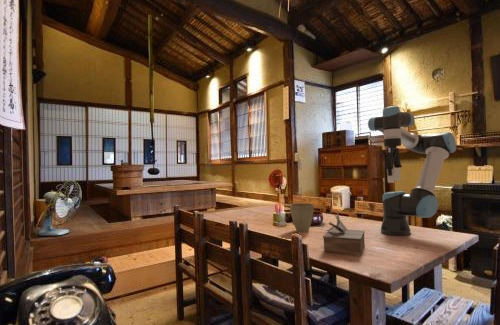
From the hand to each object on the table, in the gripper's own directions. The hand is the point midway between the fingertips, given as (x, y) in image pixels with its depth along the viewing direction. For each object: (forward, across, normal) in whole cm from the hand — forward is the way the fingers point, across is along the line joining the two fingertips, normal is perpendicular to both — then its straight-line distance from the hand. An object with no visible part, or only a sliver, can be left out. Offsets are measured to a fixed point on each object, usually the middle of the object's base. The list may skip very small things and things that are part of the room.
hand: (394, 181), depth 144 cm
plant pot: (+31, -4, -54) cm, 62 cm away
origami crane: (+23, +21, -23) cm, 39 cm away
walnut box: (+31, +20, -18) cm, 42 cm away
